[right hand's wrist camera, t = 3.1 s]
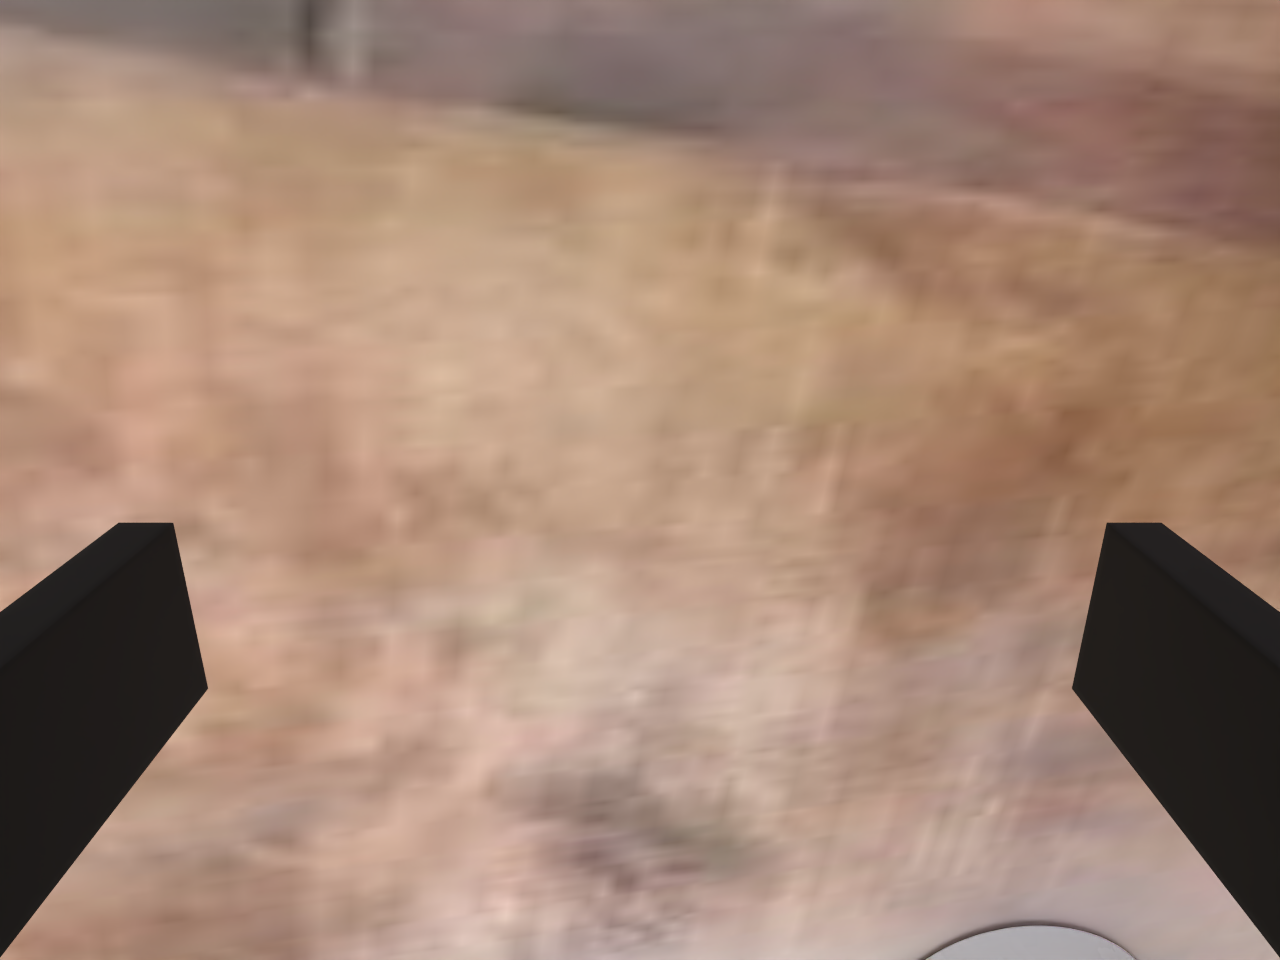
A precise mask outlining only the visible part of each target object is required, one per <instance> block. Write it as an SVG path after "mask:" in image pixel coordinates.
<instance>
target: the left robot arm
mask: <svg viewBox="0 0 1280 960" xmlns="http://www.w3.org/2000/svg"><path fill="white" fill-rule="evenodd" d="M925 960H1136V959H1135V958H1134V957H1133V956H1132V955H1130V954H1129V953H1128V952H1127V951H1125V950H1124V949H1123V948H1121V947H1119V946H1118V945H1116V944H1115V943H1113V942H1111V941H1109V940H1107V939H1104V938H1102V937H1100V936H1097V935H1094V934H1091V933H1088V932H1085V931H1081V930H1076V929H1072V928H1065V927H1057V926H1019V927H1011V928H1004V929H999V930H994V931H990V932H985V933H982V934H978V935H975V936H972V937H969V938H967V939H964V940H961V941H959V942H957V943H954V944H952V945H950V946H948V947H946V948H944V949H942V950H940V951H939V952H937V953H935V954H933V955H932V956H930V957H929V958H927V959H925Z"/></svg>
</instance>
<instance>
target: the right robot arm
mask: <svg viewBox="0 0 1280 960" xmlns="http://www.w3.org/2000/svg"><path fill="white" fill-rule="evenodd" d="M207 689H208V686H207V682H206V677H205V672H204V667H203V662H202V658H201V653H200V648H199V643H198V639H197V634H196V629H195V624H194V620H193V615H192V610H191V605H190V601H189V596H188V591H187V586H186V581H185V577H184V572H183V567H182V562H181V558H180V553H179V548H178V543H177V539H176V534H175V529H174V524H173V523H118V524H116V525H115V526H114V527H113V528H111V529H110V530H109V531H107V532H106V533H105V534H103V535H102V536H101V537H99V538H98V539H97V540H95V541H94V542H93V543H91V544H90V545H89V546H87V547H86V548H85V549H83V550H82V551H81V552H79V553H78V554H77V555H75V556H74V557H73V558H71V559H70V560H69V561H67V562H66V563H65V564H63V565H62V566H61V567H59V568H58V569H57V570H56V571H54V572H53V573H52V574H50V575H49V576H48V577H46V578H45V579H44V580H42V581H41V582H40V583H38V584H37V585H36V586H34V587H33V588H32V589H30V590H29V591H28V592H26V593H25V594H24V595H22V596H21V597H20V598H18V599H17V600H16V601H14V602H13V603H12V604H10V605H9V606H8V607H6V608H5V609H4V610H3V611H1V612H0V957H1V956H2V954H3V953H4V952H5V951H6V949H7V948H8V947H9V945H10V944H11V943H12V941H13V940H14V939H15V938H16V936H17V935H18V934H19V932H20V931H21V930H22V929H23V927H24V926H25V925H26V923H27V922H28V921H29V919H30V918H31V917H32V916H33V914H34V913H35V912H36V910H37V909H38V908H39V907H40V905H41V904H42V903H43V901H44V900H45V899H46V897H47V896H48V895H49V894H50V892H51V891H52V890H53V888H54V887H55V886H56V885H57V883H58V882H59V881H60V879H61V878H62V877H63V875H64V874H65V873H66V872H67V870H68V869H69V868H70V866H71V865H72V864H73V863H74V861H75V860H76V859H77V857H78V856H79V855H80V854H81V852H82V851H83V850H84V848H85V847H86V846H87V844H88V843H89V842H90V841H91V839H92V838H93V837H94V835H95V834H96V833H97V831H98V830H99V829H100V828H101V826H102V825H103V824H104V822H105V821H106V820H107V819H108V817H109V816H110V815H111V813H112V812H113V811H114V809H115V808H116V807H117V806H118V804H119V803H120V802H121V800H122V799H123V798H124V797H125V795H126V794H127V793H128V791H129V790H130V789H131V788H132V786H133V785H134V784H135V782H136V781H137V780H138V778H139V777H140V776H141V775H142V773H143V772H144V771H145V769H146V768H147V767H148V765H149V764H150V763H151V762H152V760H153V759H154V758H155V756H156V755H157V754H158V753H159V751H160V750H161V749H162V747H163V746H164V745H165V744H166V742H167V741H168V740H169V738H170V737H171V736H172V734H173V733H174V732H175V731H176V729H177V728H178V727H179V725H180V724H181V723H182V722H183V720H184V719H185V718H186V716H187V715H188V714H189V712H190V711H191V710H192V709H193V707H194V706H195V705H196V703H197V702H198V701H199V700H200V698H201V697H202V696H203V694H204V693H205V692H206V690H207ZM1072 689H1073V690H1074V692H1075V693H1076V694H1077V696H1078V697H1079V698H1080V700H1081V701H1082V702H1083V703H1084V705H1085V706H1086V707H1087V709H1088V710H1089V711H1090V712H1091V714H1092V715H1093V716H1094V718H1095V719H1096V720H1097V722H1098V723H1099V724H1100V725H1101V727H1102V728H1103V729H1104V731H1105V732H1106V733H1107V734H1108V736H1109V737H1110V738H1111V740H1112V741H1113V742H1114V744H1115V745H1116V746H1117V747H1118V749H1119V750H1120V751H1121V753H1122V754H1123V755H1124V756H1125V758H1126V759H1127V760H1128V762H1129V763H1130V764H1131V766H1132V767H1133V768H1134V769H1135V771H1136V772H1137V773H1138V775H1139V776H1140V777H1141V778H1142V780H1143V781H1144V782H1145V784H1146V785H1147V786H1148V788H1149V789H1150V790H1151V791H1152V793H1153V794H1154V795H1155V797H1156V798H1157V799H1158V800H1159V802H1160V803H1161V804H1162V806H1163V807H1164V808H1165V810H1166V811H1167V812H1168V813H1169V815H1170V816H1171V817H1172V819H1173V820H1174V821H1175V822H1176V824H1177V825H1178V826H1179V828H1180V829H1181V830H1182V832H1183V833H1184V834H1185V835H1186V837H1187V838H1188V839H1189V841H1190V842H1191V843H1192V844H1193V846H1194V847H1195V848H1196V850H1197V851H1198V852H1199V854H1200V855H1201V856H1202V857H1203V859H1204V860H1205V861H1206V863H1207V864H1208V865H1209V866H1210V868H1211V869H1212V870H1213V872H1214V873H1215V874H1216V876H1217V877H1218V878H1219V879H1220V881H1221V882H1222V883H1223V885H1224V886H1225V887H1226V888H1227V890H1228V891H1229V892H1230V894H1231V895H1232V896H1233V898H1234V899H1235V900H1236V901H1237V903H1238V904H1239V905H1240V907H1241V908H1242V909H1243V910H1244V912H1245V913H1246V914H1247V916H1248V917H1249V918H1250V920H1251V921H1252V922H1253V923H1254V925H1255V926H1256V927H1257V929H1258V930H1259V931H1260V932H1261V934H1262V935H1263V936H1264V938H1265V939H1266V940H1267V942H1268V943H1269V944H1270V945H1271V947H1272V948H1273V949H1274V951H1275V952H1276V953H1277V954H1278V956H1279V957H1280V612H1279V611H1277V610H1276V609H1275V608H1274V607H1272V606H1271V605H1270V604H1268V603H1267V602H1266V601H1264V600H1263V599H1262V598H1260V597H1259V596H1258V595H1256V594H1255V593H1254V592H1252V591H1251V590H1250V589H1248V588H1247V587H1246V586H1244V585H1243V584H1242V583H1240V582H1239V581H1238V580H1236V579H1235V578H1234V577H1232V576H1231V575H1230V574H1228V573H1227V572H1226V571H1224V570H1223V569H1222V568H1221V567H1219V566H1218V565H1217V564H1215V563H1214V562H1213V561H1211V560H1210V559H1209V558H1207V557H1206V556H1205V555H1203V554H1202V553H1201V552H1199V551H1198V550H1197V549H1195V548H1194V547H1193V546H1191V545H1190V544H1189V543H1187V542H1186V541H1185V540H1183V539H1182V538H1181V537H1179V536H1178V535H1177V534H1175V533H1174V532H1173V531H1171V530H1170V529H1169V528H1167V527H1166V526H1165V525H1164V524H1162V523H1107V524H1106V529H1105V534H1104V539H1103V543H1102V548H1101V553H1100V558H1099V562H1098V567H1097V572H1096V577H1095V581H1094V586H1093V591H1092V596H1091V600H1090V605H1089V610H1088V615H1087V620H1086V624H1085V629H1084V634H1083V639H1082V643H1081V648H1080V653H1079V658H1078V662H1077V667H1076V672H1075V677H1074V681H1073V686H1072Z"/></svg>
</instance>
